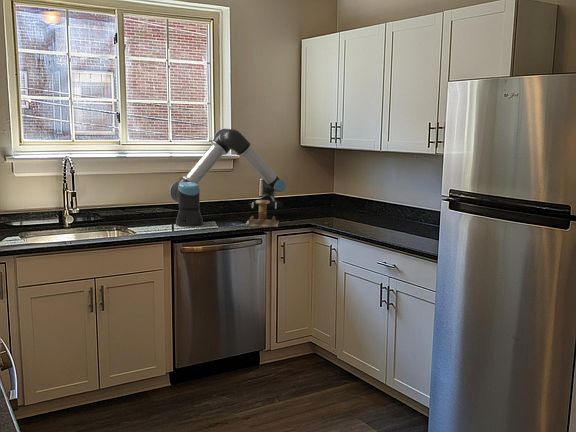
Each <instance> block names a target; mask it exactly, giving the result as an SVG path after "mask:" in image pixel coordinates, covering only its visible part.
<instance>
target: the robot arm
mask: <svg viewBox="0 0 576 432" xmlns="http://www.w3.org/2000/svg"><path fill="white" fill-rule="evenodd" d="M210 143H211V144H210V145H211V146H209V148H208V149H207V151H206V152H205V153H204V154H203V155H202V156H201V157H200V159H199V160H198V161H196V163H195V165H194V166H193V167H191V170H189V172H188V173H187V174H186V175H184V176H181V177H180V178H179V179H178V181H176V182H173V184H171V186H170V187H169V195H170V198H171V199H172V200H173V201H174V202H176V203H178V213H177V216H176V219H175V226H181V227H196V226H202V225H204V219H203V217H202V216H203V215H202V214H201V211H200V194H201V193H200V192H201V191H200V186H199V184H200V183H201V182H202V181H203V179H204V178H205V177H206V176H207V175H208V173H209V172H210V171H211V170H212V168H214V166H215V164H216V163H217V162H218V161H219V160H220V159H221V158H222V156H226V155H228V153H229V152H230V151H234V153H236V154H237V155H238V156H241V157H242V158H243V159H244V160H245V161H246V162H247V163H248V164H249V166H250V167H251V168H252V169H253V170H254V171H255V172H256V173H257V174H258V175H259V176H260V177H261V183H262V184H261V197H260V200H269V201H270V203H269V204H267V207H266V209H269V208H270V207H274V209H275V210H277V208H279V207H281V208H282V207H283V202H282V201H279V200H277V199H276V200H275V192H277V193H283V192H284V191H285V189H286V188H287V183H286V182H285V180H283V179H280V178H279V176H277V174H276V173H275V172H274V171H273V170H272V169H271V168H270V167H269V165H268V164H267V163H266V162H265V161H264V160H263V158H262V157H260V155H259V154H258V153H257V152H256V151H255V149H253V147H252V146H251V143H250V142H249V140H248V139H247V138H246V137H245V136H244V135H243V134H242V133H241V132H240V131H239V130H237V129H234V128H222V129H219V130H217V131H216V132H215V134H214V135H213V139H212V141H211V142H210ZM256 200H257V199H255V200H250V201H247V207H250V208H251V209H254V207H256V206H258V207H259V204H257V203H256Z"/></svg>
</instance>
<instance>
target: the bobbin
mask: <svg viewBox="0 0 576 432" xmlns="http://www.w3.org/2000/svg"><path fill="white" fill-rule="evenodd" d="M255 200H256V203H257V204H259V205H258V219H256V220H268V219H267V208H266V207H267V204H269V203H270V201H269V200H261V199H255Z"/></svg>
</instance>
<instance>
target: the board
mask: <svg viewBox="0 0 576 432" xmlns="http://www.w3.org/2000/svg"><path fill="white" fill-rule="evenodd" d="M279 224H280V220H276V215H275V216H274V215H273V216H272V217H271V219H267V220H257V219H255V216H254V215H251V216H250V217H249V219H248V220H247V221H246V223H245V227H257V228H260V227H264V228H265V227H266V228H278V227H279Z"/></svg>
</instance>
